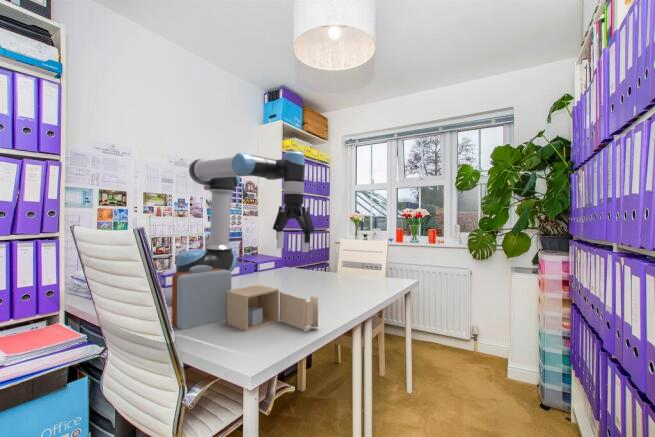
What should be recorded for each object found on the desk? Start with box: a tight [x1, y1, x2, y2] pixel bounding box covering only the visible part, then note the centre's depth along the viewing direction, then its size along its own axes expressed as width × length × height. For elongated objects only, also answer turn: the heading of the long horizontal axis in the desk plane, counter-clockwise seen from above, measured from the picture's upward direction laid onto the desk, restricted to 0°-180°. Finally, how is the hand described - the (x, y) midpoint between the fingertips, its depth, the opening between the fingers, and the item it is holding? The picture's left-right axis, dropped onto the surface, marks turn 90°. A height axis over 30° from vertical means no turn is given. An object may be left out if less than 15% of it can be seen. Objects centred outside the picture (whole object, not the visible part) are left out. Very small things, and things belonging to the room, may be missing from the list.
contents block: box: [248, 306, 263, 326], centre depth 111 cm, size 5×5×5 cm
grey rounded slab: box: [171, 265, 232, 331], centre depth 113 cm, size 18×9×21 cm, turn 134°
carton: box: [225, 284, 280, 332], centre depth 112 cm, size 12×14×12 cm
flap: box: [279, 291, 319, 330], centre depth 110 cm, size 6×15×10 cm, turn 45°
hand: (292, 250), depth 118 cm, fingers open, 13 cm apart
